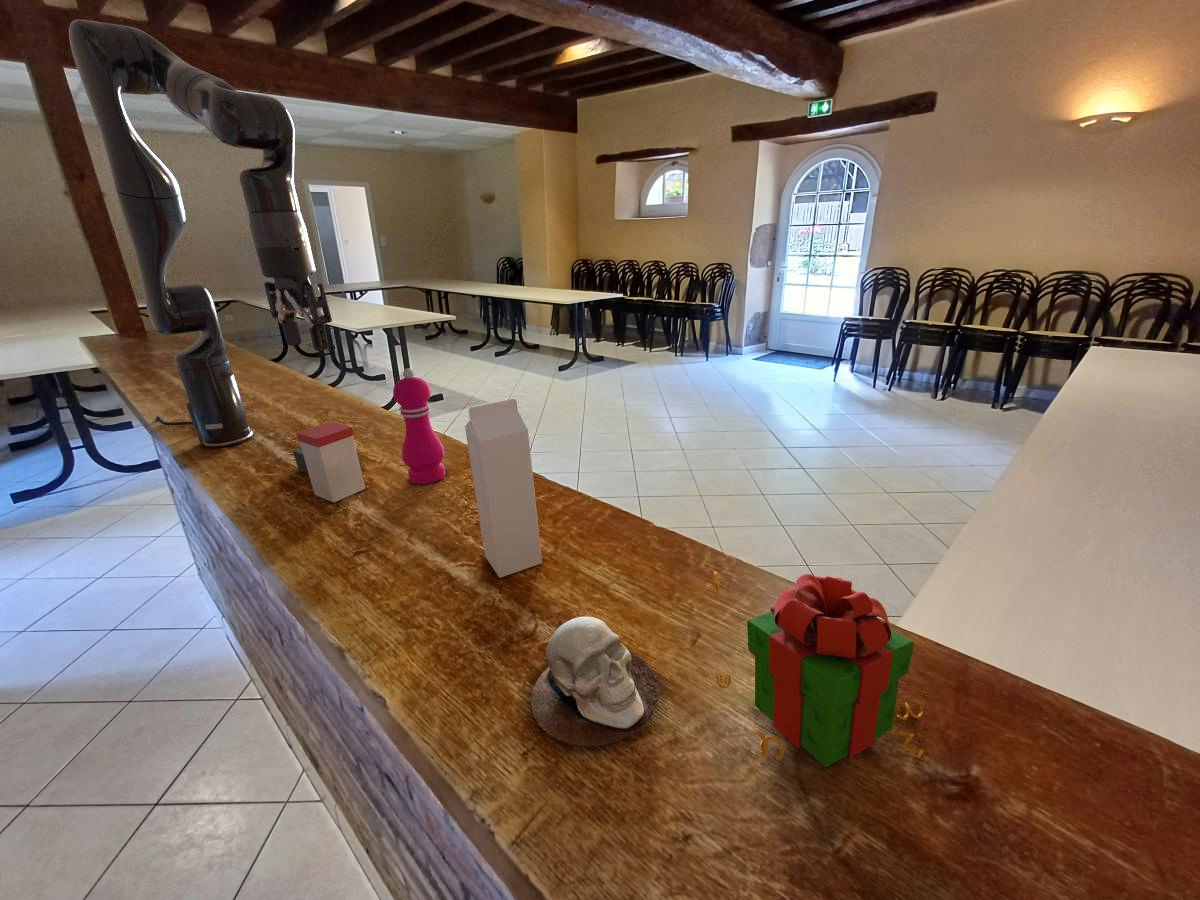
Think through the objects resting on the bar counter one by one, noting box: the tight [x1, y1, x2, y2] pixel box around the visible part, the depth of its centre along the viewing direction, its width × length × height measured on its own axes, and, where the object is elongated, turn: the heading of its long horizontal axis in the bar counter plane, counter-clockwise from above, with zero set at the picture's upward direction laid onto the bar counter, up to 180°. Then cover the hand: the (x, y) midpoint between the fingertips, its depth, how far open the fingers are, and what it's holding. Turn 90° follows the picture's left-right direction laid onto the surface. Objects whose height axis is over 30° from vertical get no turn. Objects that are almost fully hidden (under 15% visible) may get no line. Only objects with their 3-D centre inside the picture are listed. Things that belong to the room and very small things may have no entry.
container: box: [295, 420, 366, 504], centre depth 93 cm, size 12×6×12 cm
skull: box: [530, 616, 660, 747], centre depth 51 cm, size 12×10×10 cm
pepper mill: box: [392, 368, 446, 485], centre depth 96 cm, size 7×7×20 cm
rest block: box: [292, 447, 364, 475], centre depth 104 cm, size 6×12×4 cm, turn 55°
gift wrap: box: [709, 570, 925, 768], centre depth 45 cm, size 20×19×14 cm
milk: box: [464, 398, 543, 578], centre depth 69 cm, size 6×6×22 cm
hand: (308, 347), depth 92 cm, fingers open, 8 cm apart
